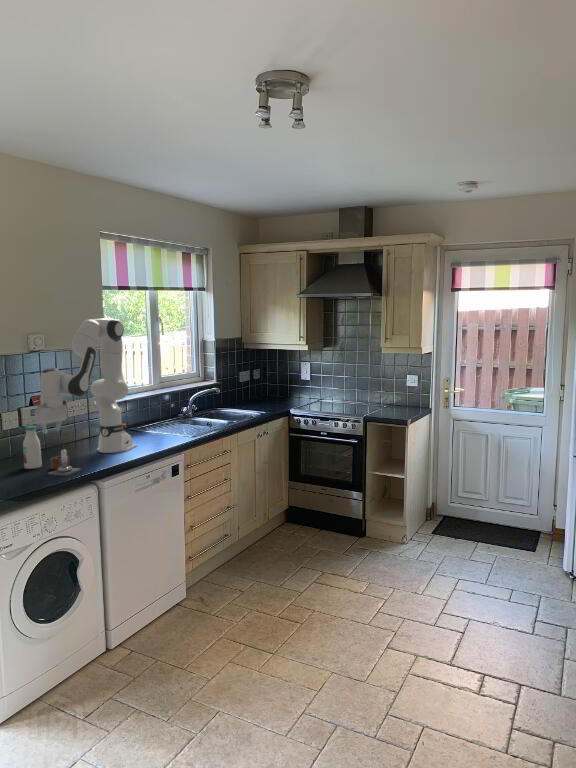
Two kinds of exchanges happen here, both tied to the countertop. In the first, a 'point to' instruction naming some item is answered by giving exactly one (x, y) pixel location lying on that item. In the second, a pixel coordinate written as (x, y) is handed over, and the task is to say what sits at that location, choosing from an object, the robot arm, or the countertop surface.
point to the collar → (57, 462)
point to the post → (64, 467)
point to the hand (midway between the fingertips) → (51, 431)
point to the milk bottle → (31, 449)
